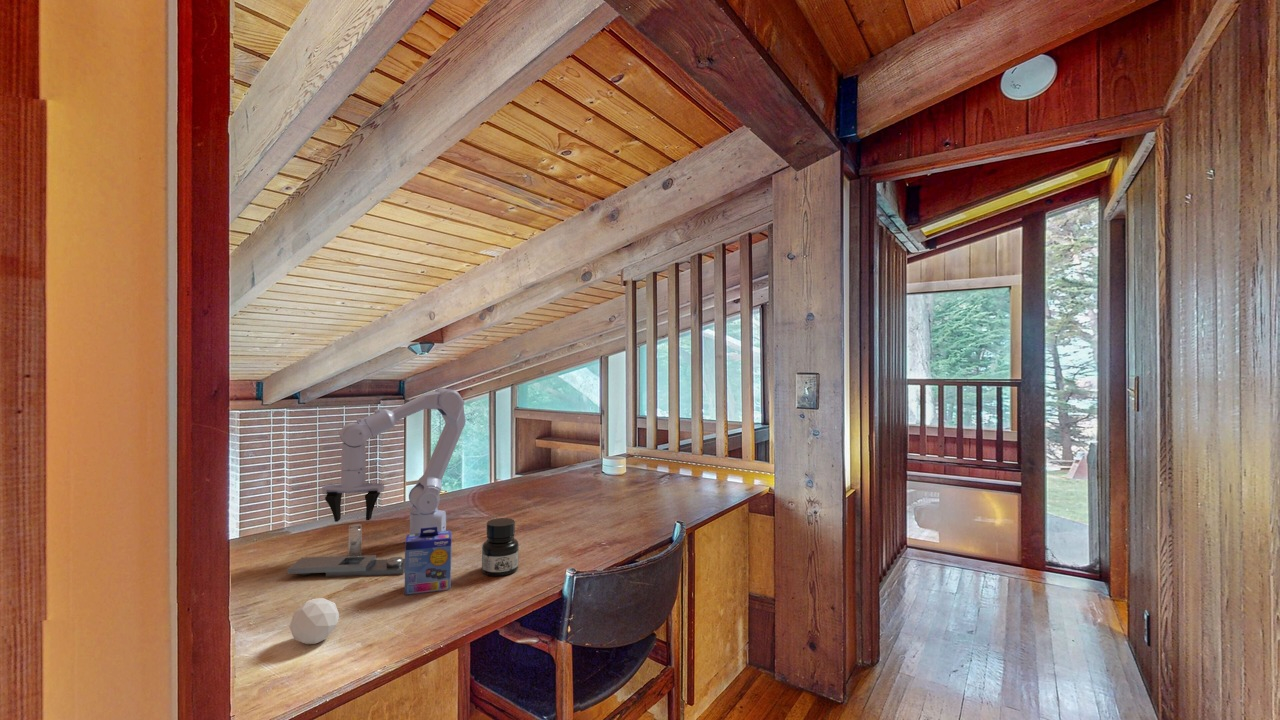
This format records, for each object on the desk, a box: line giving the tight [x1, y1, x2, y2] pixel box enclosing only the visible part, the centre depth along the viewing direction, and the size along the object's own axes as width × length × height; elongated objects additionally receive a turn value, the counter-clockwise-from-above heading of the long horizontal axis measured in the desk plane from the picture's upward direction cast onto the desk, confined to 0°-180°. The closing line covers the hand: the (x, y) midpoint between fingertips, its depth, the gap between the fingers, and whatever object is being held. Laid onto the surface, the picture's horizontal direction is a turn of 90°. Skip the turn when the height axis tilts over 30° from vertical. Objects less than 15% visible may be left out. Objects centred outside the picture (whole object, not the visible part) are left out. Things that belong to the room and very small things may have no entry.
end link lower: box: [325, 556, 405, 578], centre depth 132 cm, size 18×7×2 cm, turn 98°
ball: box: [288, 597, 340, 645], centre depth 99 cm, size 8×8×8 cm
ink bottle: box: [481, 517, 520, 577], centre depth 133 cm, size 10×9×12 cm
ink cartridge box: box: [404, 527, 452, 596], centre depth 122 cm, size 10×6×14 cm, turn 111°
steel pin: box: [348, 523, 363, 556], centre depth 141 cm, size 3×3×8 cm
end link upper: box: [287, 554, 377, 576], centre depth 130 cm, size 18×7×2 cm, turn 98°
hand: (353, 519), depth 141 cm, fingers open, 7 cm apart
